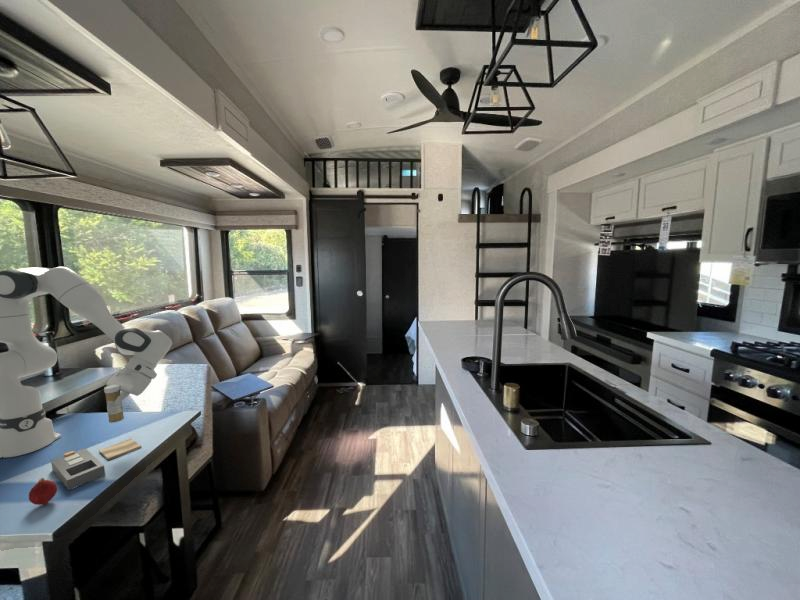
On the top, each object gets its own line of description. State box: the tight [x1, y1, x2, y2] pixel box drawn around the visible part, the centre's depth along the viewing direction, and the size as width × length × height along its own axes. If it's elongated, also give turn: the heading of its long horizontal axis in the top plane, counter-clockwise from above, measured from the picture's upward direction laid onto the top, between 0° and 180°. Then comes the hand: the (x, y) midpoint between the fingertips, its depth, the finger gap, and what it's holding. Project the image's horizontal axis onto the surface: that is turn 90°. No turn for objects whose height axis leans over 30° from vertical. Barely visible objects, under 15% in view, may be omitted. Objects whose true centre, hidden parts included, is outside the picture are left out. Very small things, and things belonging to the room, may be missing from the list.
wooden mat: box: [98, 438, 142, 461], centre depth 127 cm, size 10×10×1 cm
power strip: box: [50, 448, 106, 491], centre depth 115 cm, size 26×9×4 cm, turn 56°
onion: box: [28, 477, 58, 506], centre depth 99 cm, size 6×6×8 cm
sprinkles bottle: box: [103, 385, 125, 424], centre depth 125 cm, size 5×5×14 cm
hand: (111, 401), depth 125 cm, fingers closed on sprinkles bottle, 4 cm apart
